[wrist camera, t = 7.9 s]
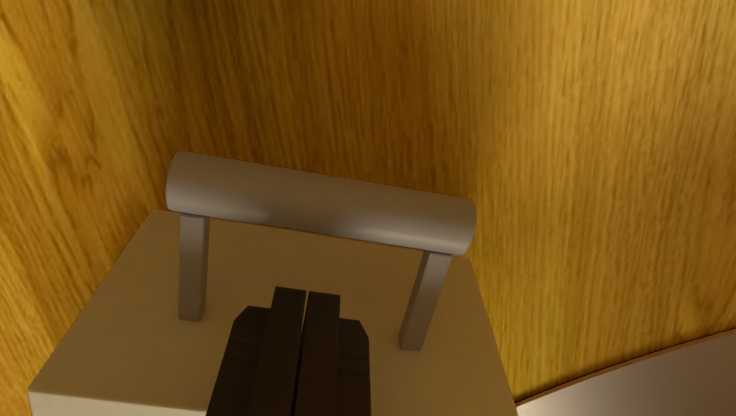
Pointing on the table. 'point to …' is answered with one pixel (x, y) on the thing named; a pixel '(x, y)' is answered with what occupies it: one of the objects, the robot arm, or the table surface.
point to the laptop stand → (651, 385)
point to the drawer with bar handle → (284, 269)
